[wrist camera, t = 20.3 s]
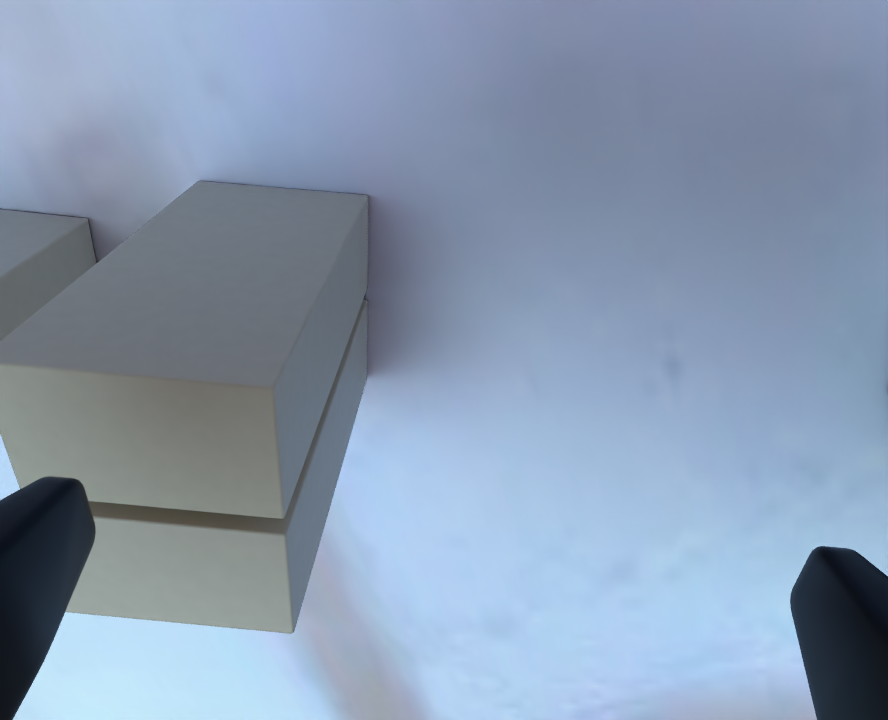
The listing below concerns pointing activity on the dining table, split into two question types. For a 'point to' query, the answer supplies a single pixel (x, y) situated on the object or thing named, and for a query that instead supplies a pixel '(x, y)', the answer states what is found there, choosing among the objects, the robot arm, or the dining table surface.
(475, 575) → the dining table surface
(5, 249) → the pale green rectangular slab
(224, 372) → the beige tall block
